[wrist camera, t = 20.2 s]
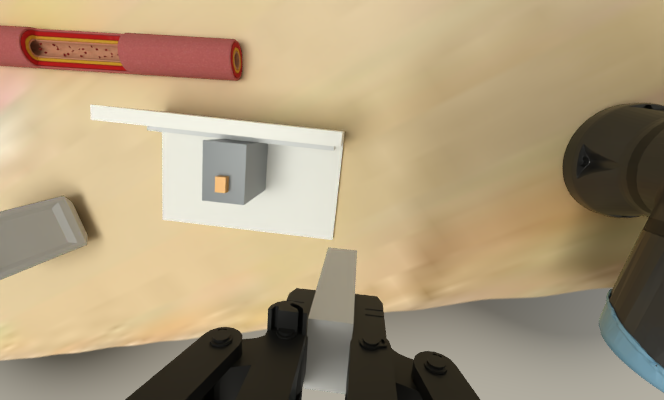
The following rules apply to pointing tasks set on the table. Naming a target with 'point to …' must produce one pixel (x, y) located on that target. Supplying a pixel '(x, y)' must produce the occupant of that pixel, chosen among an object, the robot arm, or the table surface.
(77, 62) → the blood vessel
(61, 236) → the grey angled piece
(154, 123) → the rail panel
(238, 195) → the block
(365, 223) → the table surface
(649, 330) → the robot arm
